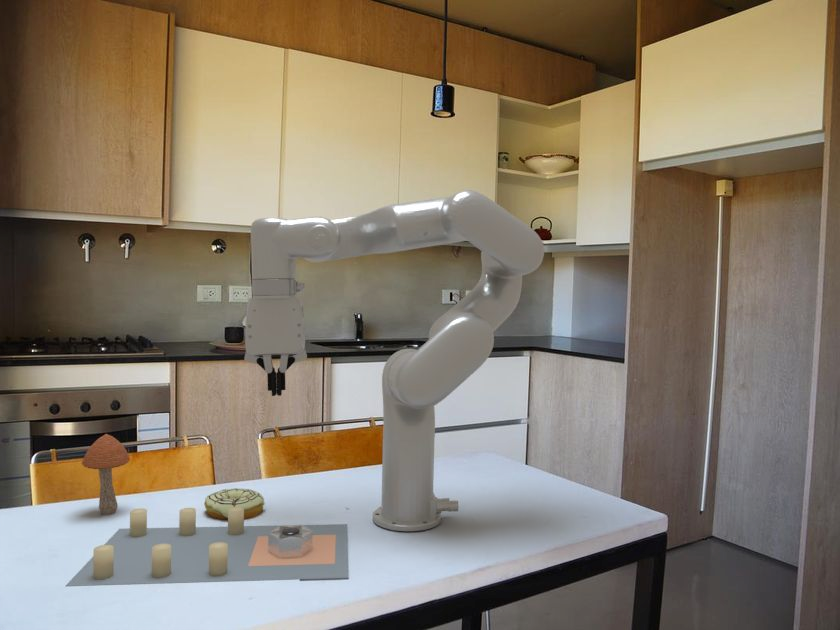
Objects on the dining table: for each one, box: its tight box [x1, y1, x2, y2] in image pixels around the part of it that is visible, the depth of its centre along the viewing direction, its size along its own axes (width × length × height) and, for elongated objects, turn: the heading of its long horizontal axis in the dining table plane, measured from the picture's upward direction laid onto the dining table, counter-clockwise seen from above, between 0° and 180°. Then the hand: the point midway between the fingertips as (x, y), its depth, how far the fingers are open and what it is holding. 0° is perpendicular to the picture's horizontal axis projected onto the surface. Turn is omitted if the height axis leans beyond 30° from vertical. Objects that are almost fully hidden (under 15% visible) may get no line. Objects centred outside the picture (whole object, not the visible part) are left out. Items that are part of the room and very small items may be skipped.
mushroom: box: [81, 433, 131, 516], centre depth 118 cm, size 8×8×15 cm
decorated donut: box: [203, 487, 266, 520], centre depth 121 cm, size 10×11×4 cm
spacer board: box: [65, 507, 349, 587], centre depth 102 cm, size 39×22×4 cm, turn 97°
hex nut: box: [268, 524, 313, 559], centre depth 103 cm, size 7×6×3 cm
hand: (276, 394), depth 113 cm, fingers closed
